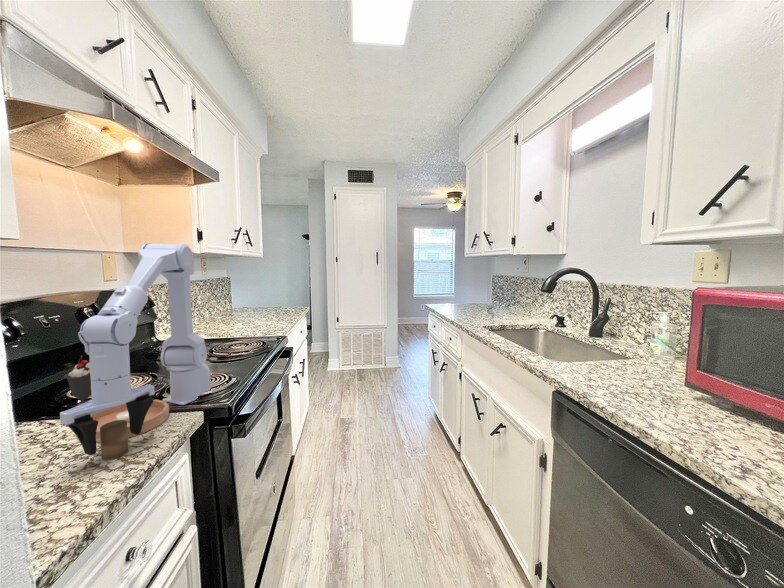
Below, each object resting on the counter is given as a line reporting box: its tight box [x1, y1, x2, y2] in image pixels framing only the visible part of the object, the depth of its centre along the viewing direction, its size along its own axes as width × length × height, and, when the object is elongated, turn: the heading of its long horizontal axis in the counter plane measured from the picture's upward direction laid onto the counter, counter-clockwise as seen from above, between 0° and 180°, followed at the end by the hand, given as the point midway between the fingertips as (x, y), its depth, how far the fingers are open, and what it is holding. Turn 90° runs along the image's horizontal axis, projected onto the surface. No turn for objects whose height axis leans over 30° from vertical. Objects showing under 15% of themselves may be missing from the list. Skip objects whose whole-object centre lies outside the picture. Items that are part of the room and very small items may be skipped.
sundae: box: [63, 355, 92, 405], centre depth 78 cm, size 7×7×15 cm
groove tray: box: [91, 399, 170, 444], centre depth 73 cm, size 16×16×2 cm
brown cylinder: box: [100, 420, 129, 461], centre depth 61 cm, size 4×4×6 cm
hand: (114, 442), depth 61 cm, fingers open, 7 cm apart
